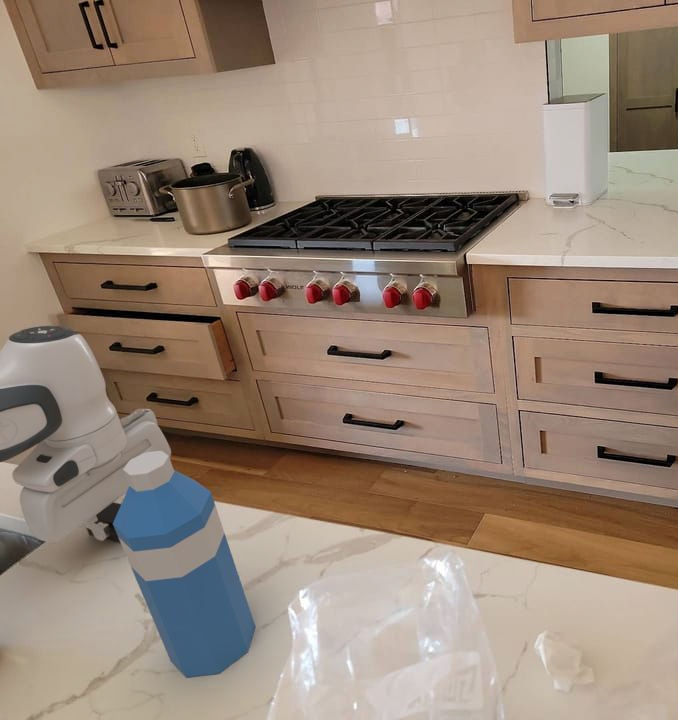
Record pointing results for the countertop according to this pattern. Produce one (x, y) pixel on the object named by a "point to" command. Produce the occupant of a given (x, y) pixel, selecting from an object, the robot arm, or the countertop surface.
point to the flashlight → (108, 520)
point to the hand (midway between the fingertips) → (121, 523)
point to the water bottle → (183, 566)
